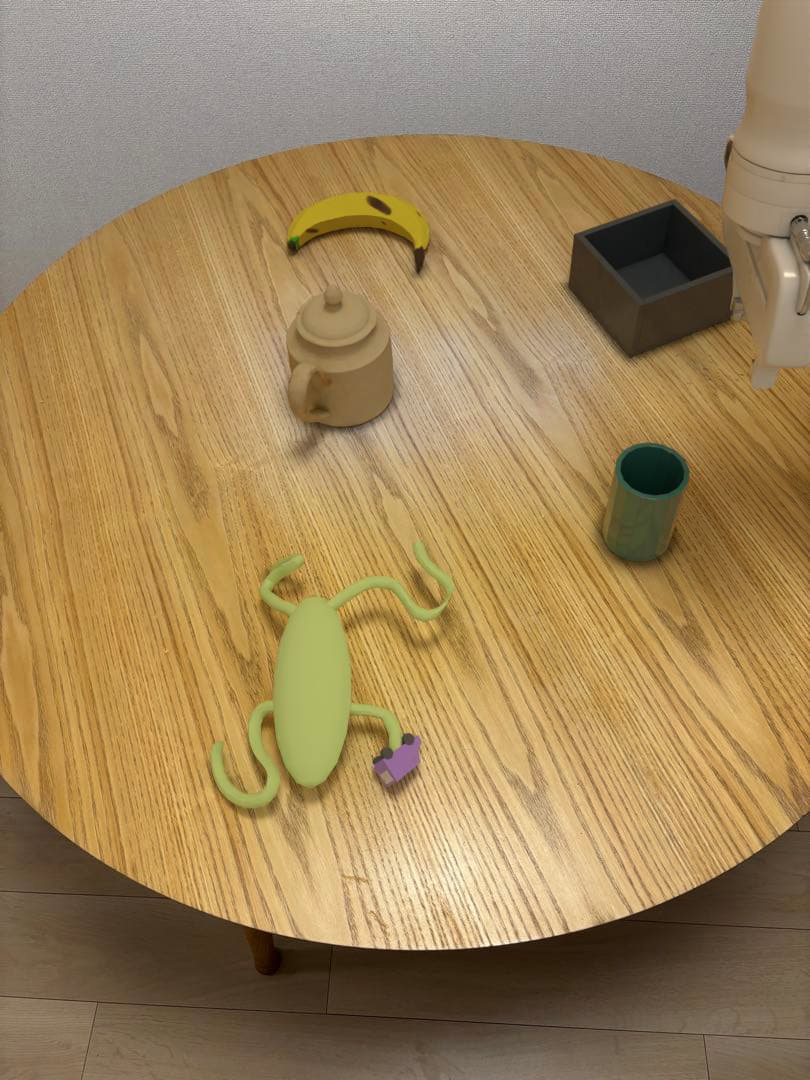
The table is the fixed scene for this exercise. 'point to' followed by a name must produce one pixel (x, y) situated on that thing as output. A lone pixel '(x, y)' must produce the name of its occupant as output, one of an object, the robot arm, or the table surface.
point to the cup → (644, 501)
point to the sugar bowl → (339, 360)
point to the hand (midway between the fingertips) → (750, 348)
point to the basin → (652, 276)
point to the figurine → (321, 688)
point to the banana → (361, 219)
